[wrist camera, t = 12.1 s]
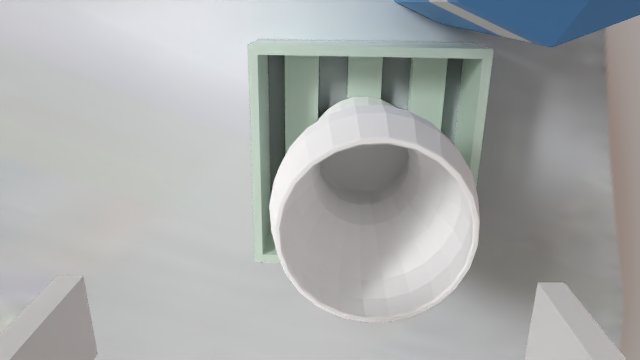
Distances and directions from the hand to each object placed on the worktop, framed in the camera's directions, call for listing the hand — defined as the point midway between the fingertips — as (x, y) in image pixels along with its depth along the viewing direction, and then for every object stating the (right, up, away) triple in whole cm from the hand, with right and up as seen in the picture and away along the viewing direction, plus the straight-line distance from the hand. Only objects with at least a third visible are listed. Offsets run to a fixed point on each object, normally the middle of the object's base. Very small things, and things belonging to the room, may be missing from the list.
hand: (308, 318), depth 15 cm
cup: (+3, +6, +23) cm, 24 cm away
